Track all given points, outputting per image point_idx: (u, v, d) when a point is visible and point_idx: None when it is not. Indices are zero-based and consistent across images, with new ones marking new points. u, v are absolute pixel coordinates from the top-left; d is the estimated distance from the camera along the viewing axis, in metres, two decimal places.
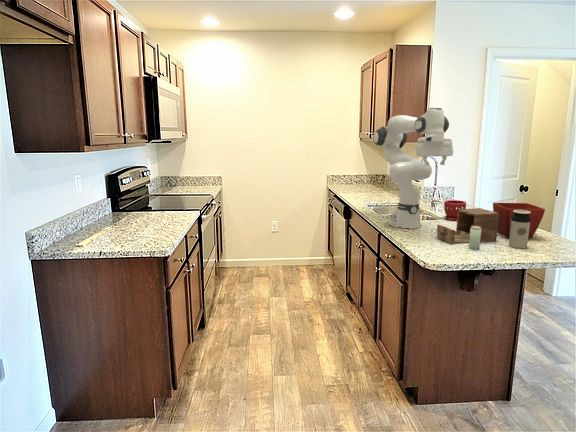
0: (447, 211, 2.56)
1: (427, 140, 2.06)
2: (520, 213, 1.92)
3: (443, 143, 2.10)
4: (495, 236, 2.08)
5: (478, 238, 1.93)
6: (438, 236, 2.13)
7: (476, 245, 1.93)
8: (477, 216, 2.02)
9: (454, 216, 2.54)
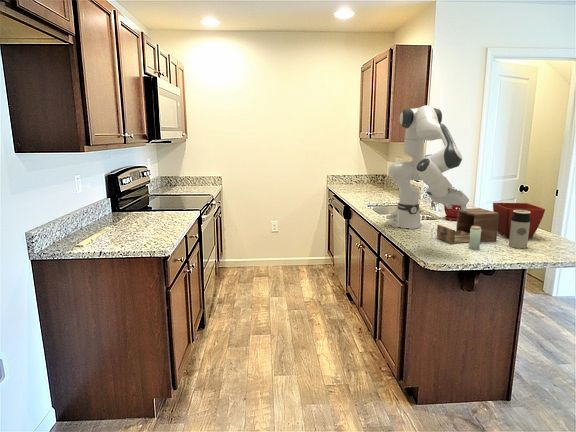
0: (447, 211, 2.56)
1: (429, 194, 1.91)
2: (520, 213, 1.92)
3: (448, 195, 1.82)
4: (495, 236, 2.08)
5: (478, 238, 1.93)
6: (438, 236, 2.13)
7: (476, 245, 1.93)
8: (477, 216, 2.02)
9: (454, 216, 2.54)
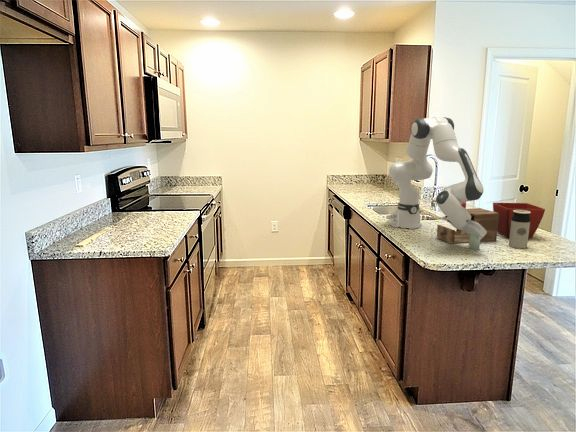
0: None
1: (448, 221, 1.97)
2: (520, 213, 1.92)
3: (466, 226, 1.88)
4: (495, 236, 2.08)
5: None
6: (438, 236, 2.13)
7: (476, 245, 1.93)
8: (477, 216, 2.02)
9: None
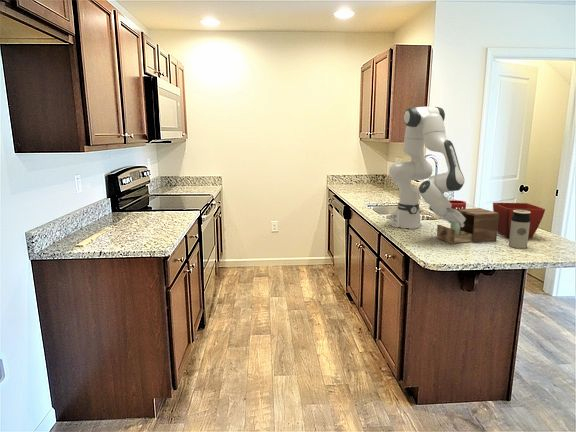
0: None
1: (431, 210, 2.11)
2: (520, 213, 1.92)
3: (447, 214, 2.01)
4: (495, 236, 2.08)
5: (458, 228, 2.07)
6: (438, 236, 2.13)
7: (456, 235, 2.07)
8: (477, 216, 2.02)
9: None
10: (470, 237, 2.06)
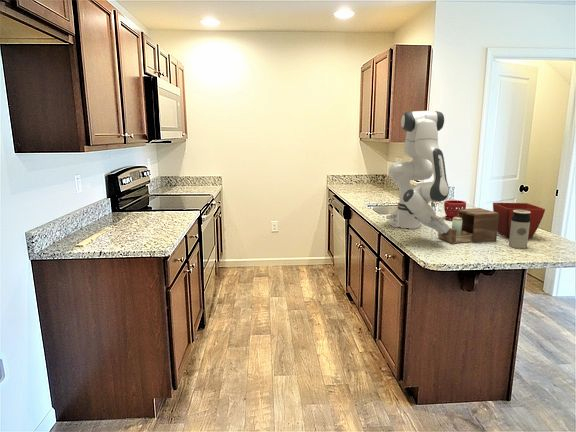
0: (447, 211, 2.56)
1: (416, 218, 2.10)
2: (520, 213, 1.92)
3: (431, 222, 2.00)
4: (495, 236, 2.08)
5: (459, 228, 2.07)
6: (439, 236, 2.13)
7: (458, 234, 2.08)
8: (477, 216, 2.02)
9: (454, 216, 2.54)
10: (471, 237, 2.06)
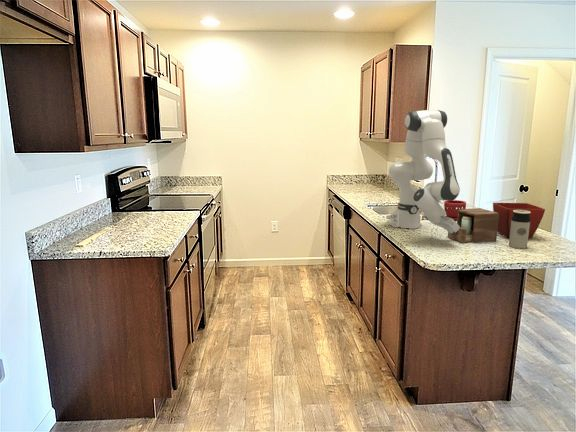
0: (447, 211, 2.56)
1: (426, 217, 2.11)
2: (520, 213, 1.92)
3: (441, 222, 2.02)
4: (495, 236, 2.08)
5: (469, 227, 2.08)
6: (449, 235, 2.15)
7: (467, 234, 2.09)
8: (477, 216, 2.02)
9: (454, 216, 2.54)
10: None
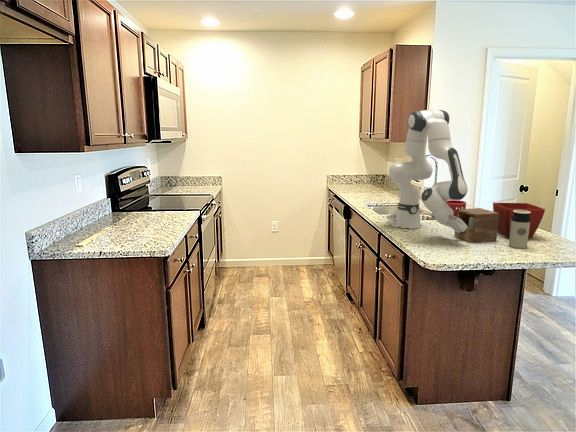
0: None
1: (433, 217, 2.12)
2: (520, 213, 1.92)
3: (449, 221, 2.03)
4: (495, 236, 2.08)
5: None
6: (456, 235, 2.16)
7: None
8: (477, 216, 2.02)
9: None
10: None
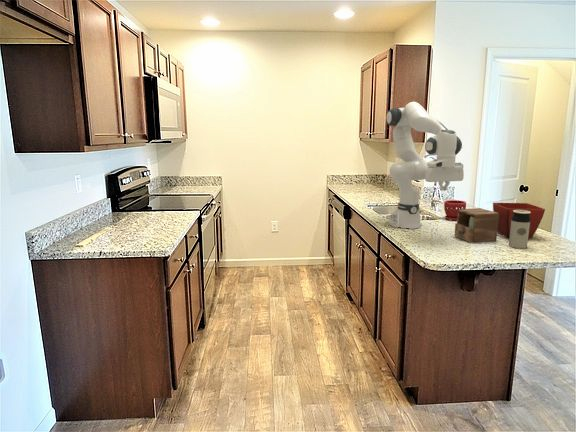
0: (447, 211, 2.56)
1: (437, 165, 1.95)
2: (520, 213, 1.92)
3: (454, 168, 1.99)
4: (495, 236, 2.08)
5: None
6: (456, 235, 2.16)
7: None
8: (477, 216, 2.02)
9: (454, 216, 2.54)
10: None
